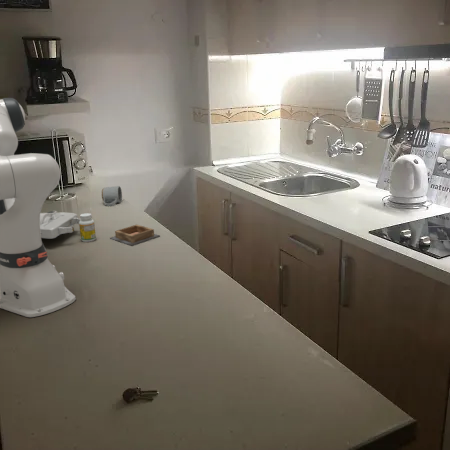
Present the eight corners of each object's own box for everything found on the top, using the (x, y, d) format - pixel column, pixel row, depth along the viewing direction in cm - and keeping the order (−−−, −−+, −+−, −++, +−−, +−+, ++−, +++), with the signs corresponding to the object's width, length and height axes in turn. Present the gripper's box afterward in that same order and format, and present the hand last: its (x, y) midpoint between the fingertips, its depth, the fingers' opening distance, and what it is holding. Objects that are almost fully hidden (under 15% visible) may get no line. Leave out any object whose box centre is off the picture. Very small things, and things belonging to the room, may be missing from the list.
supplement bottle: (96, 241, 187) (93, 215, 184) (81, 243, 185) (78, 217, 183) (95, 236, 192) (92, 212, 189) (80, 238, 190) (77, 213, 187)
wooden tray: (160, 236, 189) (159, 229, 189) (131, 246, 180) (131, 238, 180) (138, 230, 198) (137, 222, 197) (109, 238, 189) (109, 231, 188)
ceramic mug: (105, 200, 244) (103, 184, 241) (122, 200, 244) (121, 184, 241) (100, 207, 234) (98, 190, 231) (118, 206, 233) (116, 190, 231)
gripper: (27, 225, 179) (64, 225, 177) (55, 209, 198) (89, 209, 196) (30, 242, 181) (66, 243, 179) (57, 225, 200) (90, 225, 198)
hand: (78, 225), depth 187 cm, fingers open, 8 cm apart
